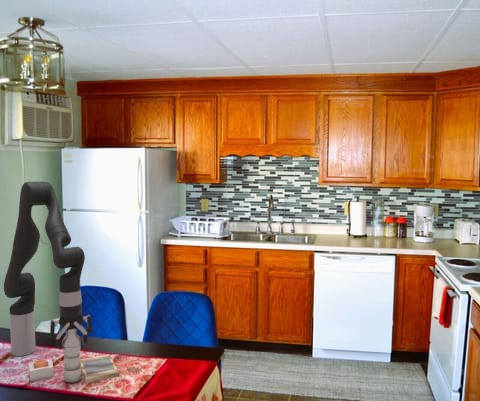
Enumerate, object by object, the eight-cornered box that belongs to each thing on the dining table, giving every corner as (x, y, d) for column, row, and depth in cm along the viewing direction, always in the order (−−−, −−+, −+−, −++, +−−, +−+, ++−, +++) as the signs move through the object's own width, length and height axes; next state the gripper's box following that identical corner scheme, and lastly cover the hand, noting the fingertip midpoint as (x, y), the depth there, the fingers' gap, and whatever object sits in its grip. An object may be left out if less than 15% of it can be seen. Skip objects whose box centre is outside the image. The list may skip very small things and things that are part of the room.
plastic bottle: (76, 385, 169) (74, 331, 167) (59, 383, 170) (57, 330, 169) (85, 377, 175) (84, 325, 173) (69, 375, 177) (67, 323, 175)
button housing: (29, 372, 179) (28, 362, 179) (51, 368, 183) (51, 358, 182) (30, 381, 172) (29, 371, 172) (53, 377, 175) (53, 366, 175)
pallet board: (78, 363, 187) (78, 359, 187) (109, 357, 192) (109, 353, 192) (86, 383, 171) (85, 378, 171) (119, 376, 176) (119, 371, 176)
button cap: (34, 371, 178) (34, 361, 178) (46, 369, 180) (46, 359, 179) (35, 375, 174) (35, 365, 174) (47, 373, 176) (46, 363, 176)
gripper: (89, 297, 177) (90, 339, 178) (48, 302, 170) (49, 345, 172) (92, 302, 170) (93, 346, 171) (50, 308, 164) (51, 353, 165)
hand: (71, 346), depth 172 cm, fingers open, 8 cm apart
